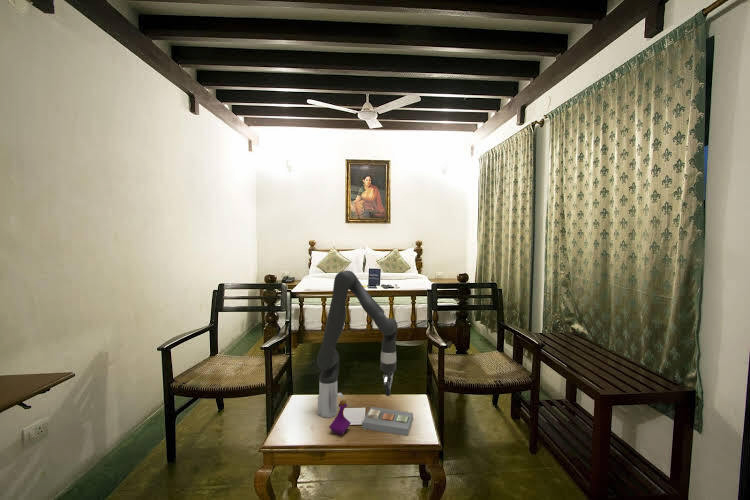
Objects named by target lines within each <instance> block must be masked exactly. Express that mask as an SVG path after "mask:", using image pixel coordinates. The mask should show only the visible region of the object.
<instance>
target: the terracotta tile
mask: <svg viewBox="0 0 750 500" xmlns="http://www.w3.org/2000/svg"><path fill="white" fill-rule="evenodd" d="M393 419H394V414H387V413H384V415H383V417H382V420H387V421H393Z"/></svg>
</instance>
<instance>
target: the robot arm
mask: <svg viewBox="0 0 750 500" xmlns="http://www.w3.org/2000/svg"><path fill="white" fill-rule="evenodd" d="M349 291H350V292H351V293H352V294H353V295H354V296H355V298H357V300H358V302H359V304H360V306H361V307H362V309H363V311H364V312H365V313H366V314H367V315H368V317H370V319H372V320H373V322H374V324H375V326H376V327H377V329H378V330H379V331H380V332H381V333H382V335H383V338H382V340H381V352H380V370H381V371H382V372H384V374H383V376H382V377H383V380H382V386H383V388H384V389H385V396H387V397H391V396H390V395H391V389H392V388H391V387H392V385H393V378H394V372H395V371H396V370H397V336H398V330H399V329H398V322H397V321H396V319H395V318H393V317H389V318H388V317H387V316H386V315H385V311H384V309H383V308H382V307H381V305H379V303H378V302H377V301H376V300H375V299H374V298H373V297H372V296H371V294H369V292H368V291H367V290H366V289H365V287H364V286H363V284H362V283H361V281H360V280H359V278H358V277H357V275H356V274H355V273H354V272H353V271H351V270H342V271H340V272H337V274H336V275H335V277H334V281H333V288H332V295H331V301H330V305H329V310H328V313H327V317H326V322H325V327H324V332H323V335H322V336H323V337H322V342H321V345H320V348H319V351H318V353H317V358H316V364H317V366H318V368H319V369H320V370H321V371H320V374H319V376H318V377H319V381H318V382H319V387H318V388H319V394H318V396H317V415H318V416H320V417H323V418H333V417H336V416H337V415H338V395H337V394H338V376H339V373H340V354H339V352H338V350H337V349H336V346H337V343H338V341H339V339H340V336H341V335H342V332H343V330H344V328H345V325H346V324H345V323H346V318H347V306H346V305H347V303H346V302H347V301H346V300H347V296H348V294H349ZM336 395H337V397H336Z"/></svg>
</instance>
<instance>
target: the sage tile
mask: <svg viewBox="0 0 750 500" xmlns="http://www.w3.org/2000/svg"><path fill="white" fill-rule="evenodd" d="M396 422H401V423H407V422H408V416H401V415H398V417H397V419H396Z"/></svg>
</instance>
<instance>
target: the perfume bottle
mask: <svg viewBox="0 0 750 500" xmlns="http://www.w3.org/2000/svg"><path fill="white" fill-rule="evenodd" d="M336 397H337V398H338V397H339V398H341V400H340V401H339V404H337V407H338V408H339V411H338V412H337V414H336V416H335V418H334V420H333V421H332V422H331V424H330V425H329V427H328V428H329V429H330V430H331V432H333V434H336V435H340V436H342V435H344V434H345V432H347V430H348V428H349V427H350V425H351V424H352V423H351V421H350V420H349V419H347V417H345V416H344V411H345V409H346V408H347V407H348V403H347V400H345V399H344V395H343V393H342V392H337V395H336Z"/></svg>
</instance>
